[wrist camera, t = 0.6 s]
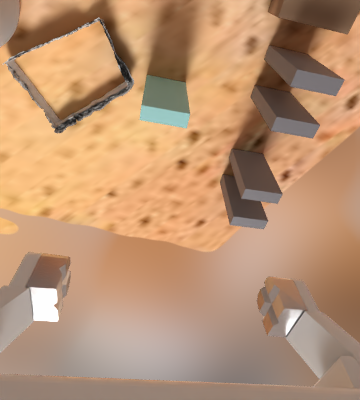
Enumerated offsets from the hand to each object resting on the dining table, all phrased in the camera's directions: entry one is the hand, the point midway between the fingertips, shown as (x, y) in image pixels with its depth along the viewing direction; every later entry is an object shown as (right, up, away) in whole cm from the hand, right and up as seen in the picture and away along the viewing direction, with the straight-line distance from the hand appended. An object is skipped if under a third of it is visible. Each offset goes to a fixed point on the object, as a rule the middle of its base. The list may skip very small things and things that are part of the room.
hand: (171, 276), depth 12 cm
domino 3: (+13, +21, +24) cm, 35 cm away
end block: (+15, +25, +21) cm, 36 cm away
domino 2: (+10, +6, +36) cm, 38 cm away
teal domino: (-2, +18, +26) cm, 32 cm away
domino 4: (+12, +17, +27) cm, 35 cm away
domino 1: (+11, +10, +33) cm, 36 cm away
